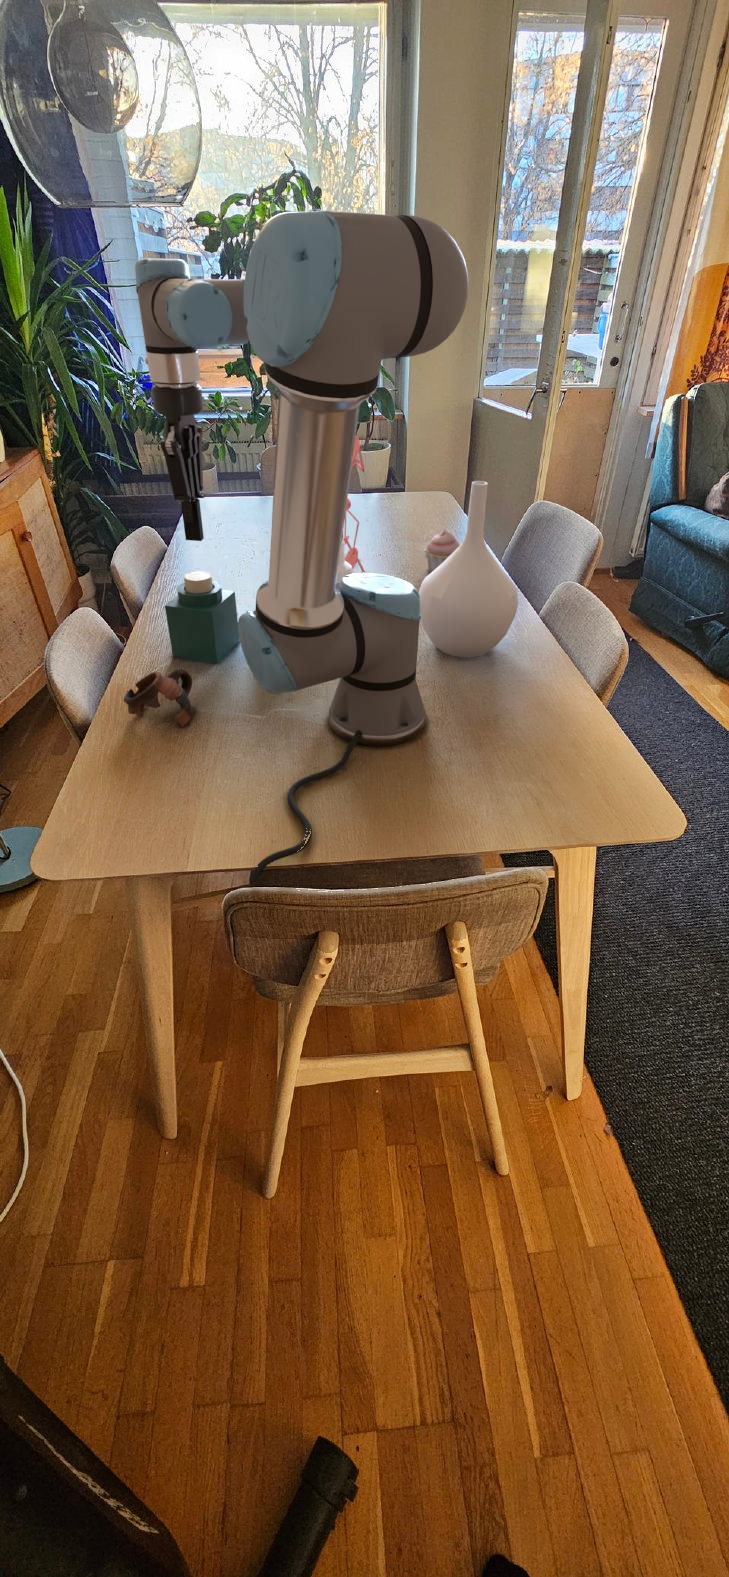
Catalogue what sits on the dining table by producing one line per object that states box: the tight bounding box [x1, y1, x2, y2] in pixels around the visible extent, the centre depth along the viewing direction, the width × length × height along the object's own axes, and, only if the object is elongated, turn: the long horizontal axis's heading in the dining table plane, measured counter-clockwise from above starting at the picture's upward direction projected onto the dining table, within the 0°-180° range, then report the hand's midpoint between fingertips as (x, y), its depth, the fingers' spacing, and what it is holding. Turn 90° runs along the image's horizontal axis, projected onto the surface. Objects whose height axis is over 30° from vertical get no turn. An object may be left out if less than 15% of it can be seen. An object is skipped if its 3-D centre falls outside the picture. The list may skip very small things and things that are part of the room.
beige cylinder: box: [183, 570, 213, 593], centre depth 128 cm, size 5×5×3 cm
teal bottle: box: [164, 580, 240, 664], centre depth 132 cm, size 10×9×12 cm
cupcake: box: [423, 529, 460, 574], centre depth 168 cm, size 9×9×10 cm
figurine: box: [343, 435, 366, 573], centre depth 161 cm, size 15×26×35 cm, turn 12°
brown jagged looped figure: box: [123, 668, 195, 727], centre depth 115 cm, size 12×10×8 cm
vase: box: [418, 480, 519, 658], centre depth 129 cm, size 18×18×30 cm
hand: (194, 539), depth 124 cm, fingers closed
